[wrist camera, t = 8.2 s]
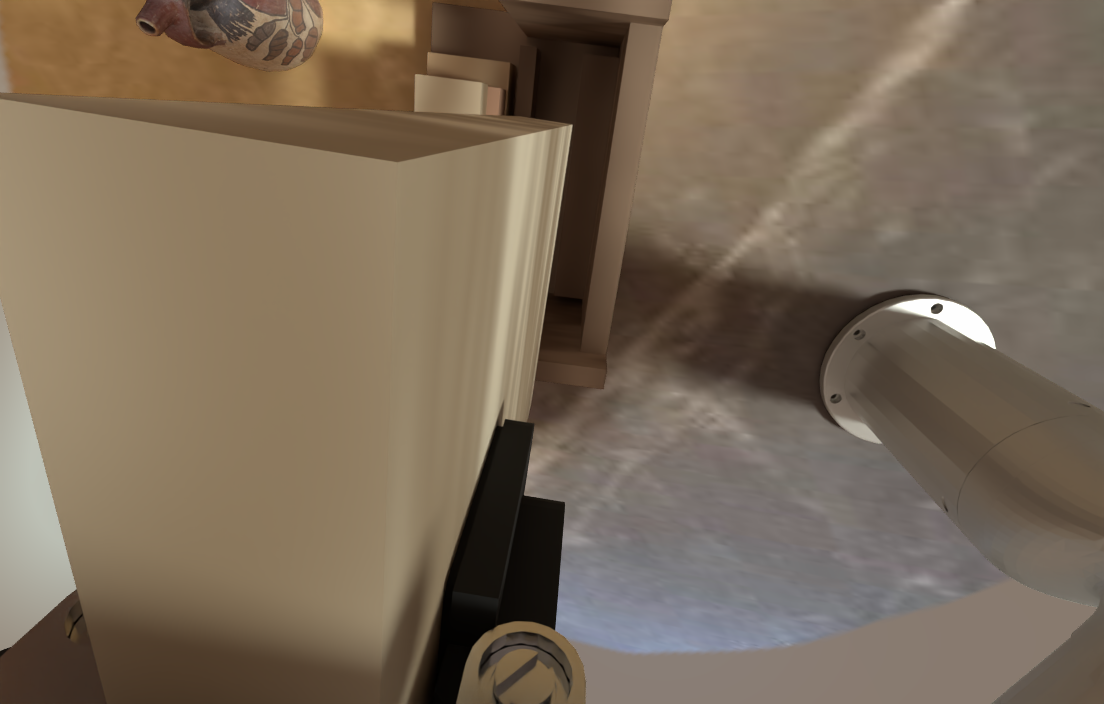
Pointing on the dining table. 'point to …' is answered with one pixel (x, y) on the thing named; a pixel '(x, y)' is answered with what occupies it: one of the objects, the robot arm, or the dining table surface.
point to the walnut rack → (575, 144)
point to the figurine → (240, 28)
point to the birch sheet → (270, 374)
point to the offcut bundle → (465, 86)
